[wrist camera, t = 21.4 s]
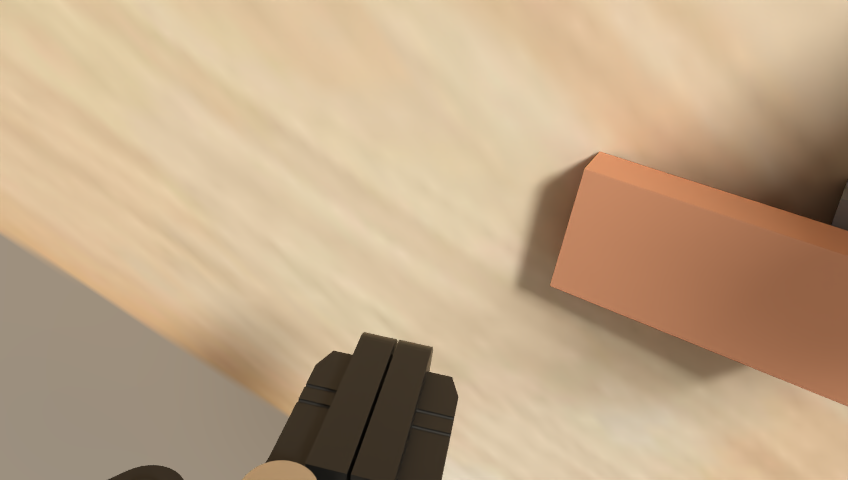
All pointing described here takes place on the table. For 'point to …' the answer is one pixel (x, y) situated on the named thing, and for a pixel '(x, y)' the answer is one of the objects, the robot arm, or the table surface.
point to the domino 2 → (842, 211)
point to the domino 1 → (712, 271)
